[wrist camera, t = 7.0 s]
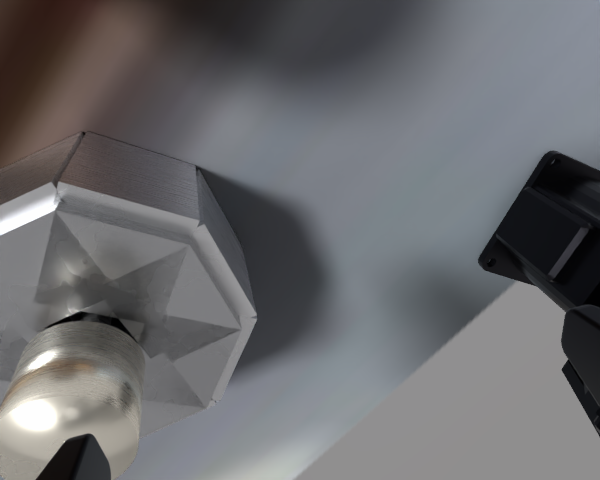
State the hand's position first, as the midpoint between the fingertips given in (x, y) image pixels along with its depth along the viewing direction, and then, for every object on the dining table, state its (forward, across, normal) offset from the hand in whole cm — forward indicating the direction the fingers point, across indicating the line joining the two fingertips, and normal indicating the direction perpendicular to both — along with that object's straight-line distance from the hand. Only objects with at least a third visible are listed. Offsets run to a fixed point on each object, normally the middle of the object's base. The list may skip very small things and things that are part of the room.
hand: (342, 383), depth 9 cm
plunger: (+12, +7, +3) cm, 14 cm away
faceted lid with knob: (+13, +8, +4) cm, 15 cm away
